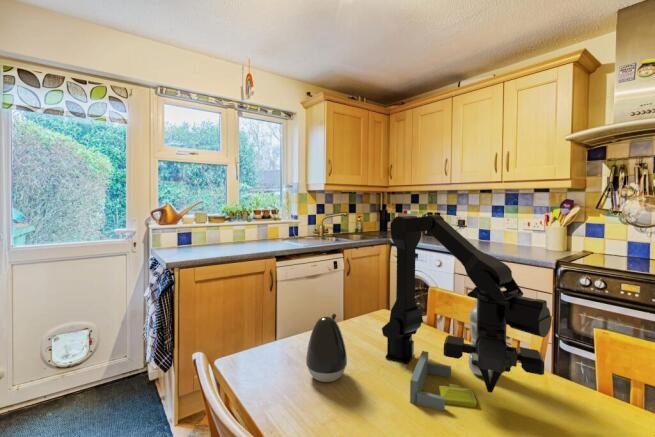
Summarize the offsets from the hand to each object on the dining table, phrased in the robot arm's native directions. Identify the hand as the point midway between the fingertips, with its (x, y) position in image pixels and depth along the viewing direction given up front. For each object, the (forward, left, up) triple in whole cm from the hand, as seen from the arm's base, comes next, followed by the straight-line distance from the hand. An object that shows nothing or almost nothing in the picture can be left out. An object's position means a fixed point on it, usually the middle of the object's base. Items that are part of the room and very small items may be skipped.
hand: (489, 391), depth 69 cm
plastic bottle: (-2, +12, -3) cm, 12 cm away
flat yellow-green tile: (-7, -1, -3) cm, 7 cm away
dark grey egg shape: (-37, -6, -3) cm, 37 cm away
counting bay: (-12, 0, -2) cm, 12 cm away
